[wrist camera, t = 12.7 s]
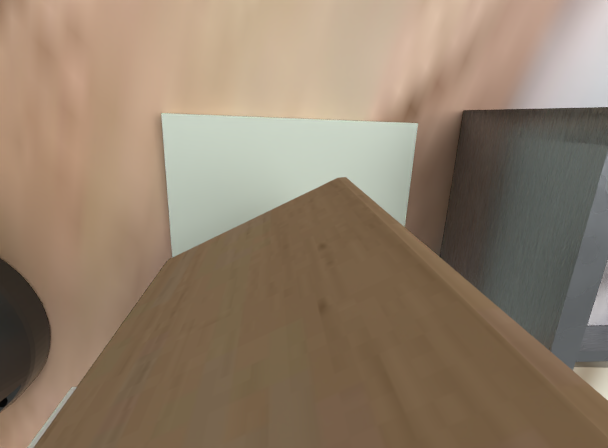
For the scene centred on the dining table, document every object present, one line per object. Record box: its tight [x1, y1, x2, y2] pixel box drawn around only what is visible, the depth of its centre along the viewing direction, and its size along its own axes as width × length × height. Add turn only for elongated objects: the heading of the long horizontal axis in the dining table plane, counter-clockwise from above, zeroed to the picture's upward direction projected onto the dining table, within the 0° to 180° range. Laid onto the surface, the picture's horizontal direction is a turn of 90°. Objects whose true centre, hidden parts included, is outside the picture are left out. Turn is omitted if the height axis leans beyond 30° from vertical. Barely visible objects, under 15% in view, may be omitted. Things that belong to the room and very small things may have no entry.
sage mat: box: [161, 113, 418, 258], centre depth 27 cm, size 17×18×1 cm
